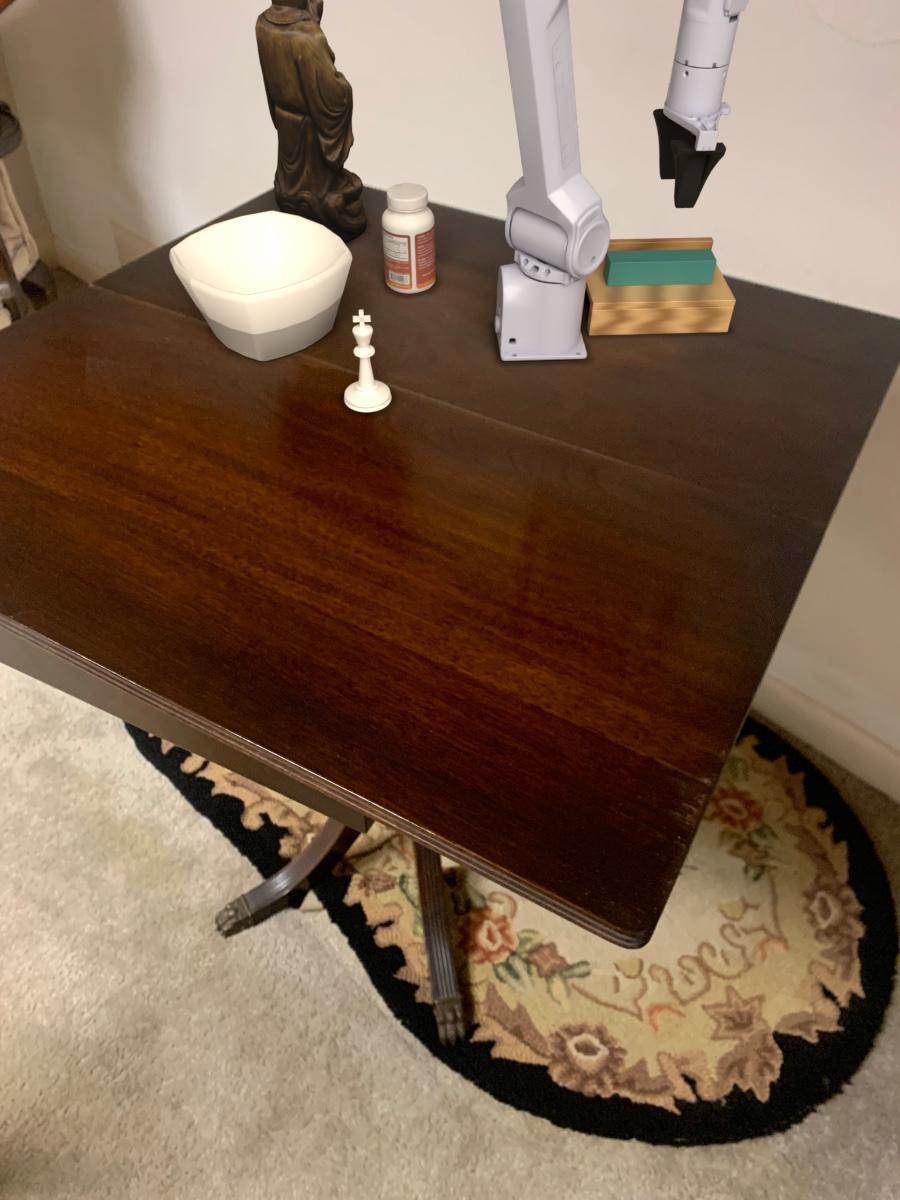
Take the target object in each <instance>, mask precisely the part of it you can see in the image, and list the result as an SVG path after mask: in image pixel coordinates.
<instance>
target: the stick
mask: <svg viewBox="0 0 900 1200" xmlns="http://www.w3.org/2000/svg"><path fill="white" fill-rule="evenodd" d="M712 250H713V249H712ZM712 250H711V249H686V250H640V251H607V253H606V257H605V264H604V271H603V275H604V278H605V281H606V284H607V286H639V285H682V284H711V283H712V279H713V275H714V271H715V267H716V264H717V262H718V260H717V258H716V256H715V254H714V251H712Z"/></svg>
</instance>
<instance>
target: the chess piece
mask: <svg viewBox="0 0 900 1200" xmlns="http://www.w3.org/2000/svg"><path fill="white" fill-rule="evenodd" d="M364 313H365V312H364V309H358V315H352V323H359V324H356V325H354V326H353V328H352V330H351V331H352V335H353V337H354V338H355V341H356V344H357V345H356V346H355V347H354V348H353V354H354V356H355V357H357V358H359V369H358V381H355V382H353V383H350V385H348V386H347V387H346V389H345V391H344V392H343V393H344V394H343V395H344V397H343V402H344V404H345V405H346V407H348V408H349V409H351V410H353V411H355V412H360V413H373V412H378V411H381V410H383V409H385V408H386V407H388V406H389V405H390V404H391V401H392V394H391V389H390V388H389V386H388V385H387V384H386V383H384V382H382V381H380V380H376V379H375V376H374V372H373V368H372V363H371V357H373V356H374V355H375V353H376V350H375V347H374V346H373V345H371V344H370V343H371V340H372V339H371V338H372V337H373V333H374V329H373V327H372V326H371V325H370V324H367V323H371V322H372V320H371V315H370V314H367V315H364Z"/></svg>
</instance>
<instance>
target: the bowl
mask: <svg viewBox="0 0 900 1200" xmlns="http://www.w3.org/2000/svg"><path fill="white" fill-rule="evenodd" d="M168 256H169V261H170V263H171V267H172V268H173V271H174V273H175V274H176V276H177V278H178V279H179V281H180V282H181V284H182V285H183V287H184V289H185V291H186V292H187V294H188V295H189V297H190V298H191V300H192V301H193V303H194V305H195V307H197V309H198V311H199V312H200V313H201V315H202V317H203V318H204V320H205V322H206V323H207V325H208V326H209V328H210V329H211V331H212V332H213V334H214V336H215V337H216V338H217V339H218V340H219V341H220V342H221V343H222V344H223V345H224V346H225V348H227V349H230V350H231V351H233V352H236V353H237V354H240V355H242V356H244V357H246V358H249V359H253V360H256V361H258V362H268V361H271V360H272V361H273V360H275V359H279V358H283V357H285V356H289V355H292V354H295V353H297V352H300V351H303V350H305V349H307V348H308V347H310V346H312V345H313V344H315V343H316V342H318V341H320V340H321V339H323V338H324V337H325V336H326V335H328V334H329V333H330V332H331V331H332V330H333V328H334V324H335V321H336V318H337V314H338V310H339V307H340V303H341V299H342V296H343V293H344V291H345V286H346V283H347V280H348V276H349V273H350V270H351V265H352V262H353V255H352V252H351V251H350V249H349V247H348V246H347V245H346V244H345V241H344V242H343V241H342V240H341V238H340V237H339V236H337V235H336V234H334V233H333V232H332V231H330V230H329V229H327V228H326V227H324V226H323V225H321V224H318V223H316V222H313V221H310V220H308V219H305V218H302V217H300V216H296V215H291V214H287V213H282V212H281V211H278V210H277V211H276V210H267V211H262V212H256V213H251V214H246V215H240V216H236V217H234V218H230V219H227V220H223V221H221V222H216V223H213V224H211V225H208V226H207V227H204V228H203V229H200V230H199V231H196V232H194V233H192V234H190V235H188V236H187V237H185V238H184V239H182V241H180V242H179V243H177V244H176V245H174V246H173V247H172V248H170V250H169V254H168Z"/></svg>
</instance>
